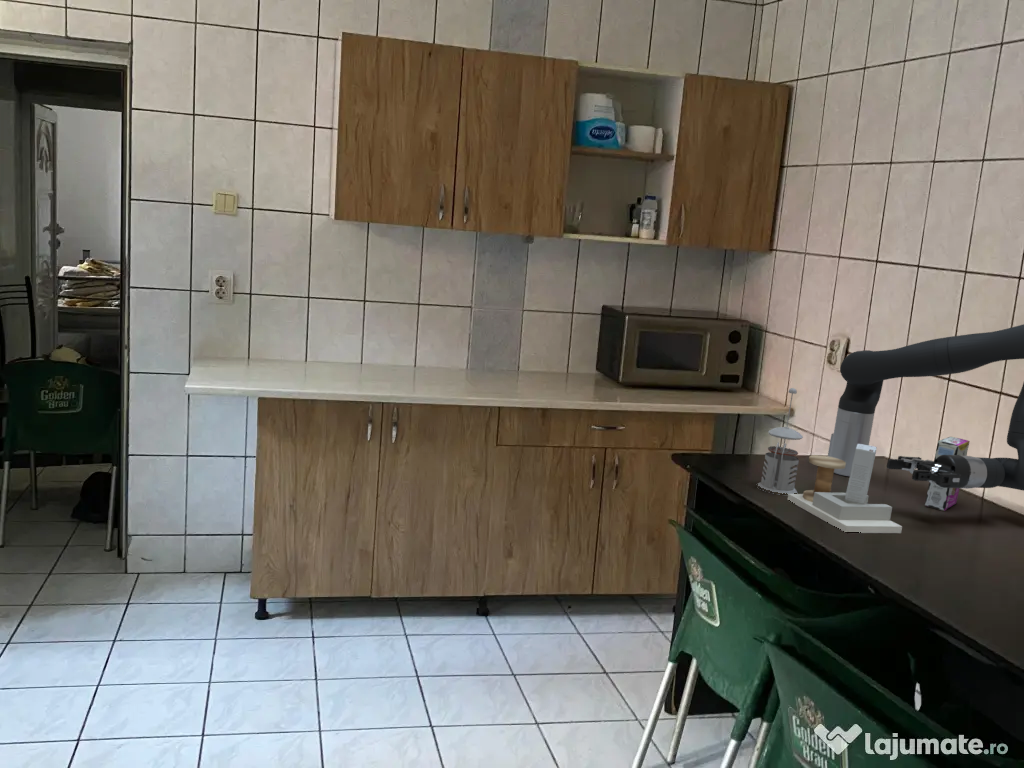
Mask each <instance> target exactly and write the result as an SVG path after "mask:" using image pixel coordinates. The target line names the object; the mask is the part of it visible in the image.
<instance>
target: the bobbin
mask: <svg viewBox="0 0 1024 768" xmlns="http://www.w3.org/2000/svg"><path fill="white" fill-rule="evenodd" d="M808 463H810V464H812V465H814V466H817V470H816V475H815V482H814V488H813V489H807V490H804V491H802V492H803V493H802V494H803V498H804V499H806V500H808V501H811V502H813V497H814V492H831V491H832V486H833V480H834V474H835V473H834V469H844V468H845V466H846V462H845V461H843V460H840V459H837V458H834V457H829V456H828V455H820V454H814V455H813V454H812V455H809V457H808Z"/></svg>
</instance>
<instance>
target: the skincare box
mask: <svg viewBox="0 0 1024 768" xmlns="http://www.w3.org/2000/svg"><path fill="white" fill-rule="evenodd" d="M877 449H878V448H877V446H874V445H870V444H869V445H864V444H857V447H856V450H855V455H854V459H853V463H852V468H851V472H850V476H848V477H849V478H848V483H847V486H846V491H845V493H846V496H845V500H847V501H851V502H855V503H860V504H864V503H865V500H866V497H867V495H868V491H869V488H870V487H869V486H870V483H871V482H870V481H871V478H872V472H873V470H874V469H873V468H874V463H875V458H876V453H877Z"/></svg>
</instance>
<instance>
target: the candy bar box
mask: <svg viewBox="0 0 1024 768" xmlns="http://www.w3.org/2000/svg"><path fill="white" fill-rule="evenodd" d="M969 446H970V440H967V439H963V438H959V437H953V436H948V437H945V438H943V439H940V440H938V441H937V446H936V450H935V453H934V460H933V461H935V460H936V458H937V457H939V456H941V455H961V456H968V451H969V450H968V449H969ZM959 492H960V488H943V487H940V486H939V485H937V484H936V483H930V482H929V483H928V488H927V493H926V496H925V503H924V506H925V507H927V508H931V509H935V510H939V511H943V512H945V511H947V510H948V509H949V508H951V507H953V506H955V505H956V504H957V502H958V496H959Z"/></svg>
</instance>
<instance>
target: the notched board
mask: <svg viewBox="0 0 1024 768" xmlns="http://www.w3.org/2000/svg"><path fill="white" fill-rule="evenodd" d="M845 496H846V492H837V491H836V492H814V497H813V502H811V501H808V500H806V499H804V498H803V493H797V494H788V495H787V501H788V500H790V501H791V502H790V501H789V502H790V503H792V502H793V504H794V503H795V504H794V505H796V506H797V507H799V508H800V509H803V510H804V511H806V512H808V513H810V514H812V515H813V516H815V517H817V518H818V519H821V520H822V521H823V522H826V523H827V522H828V524H829V525H831V526H833V527H834V526H835V528H836V527H837V528H836V529H838V528H839V529H838V530H840V529H841V530H840V531H841V532H843V531H844V532H843V533H845V532H859V533H858V534H902V532H903V531H902V529H903V526H902V525H900V524H899V523H896V522H895V521H892V520H891V517H892V512H893V511H892V510H893V506H891V505H888V504H885V503H869V497H870V495H868V494H867V497H866V500H865V503H864V504H860V503H855V502H851V501H847V500H845ZM860 532H861V533H860Z"/></svg>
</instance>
